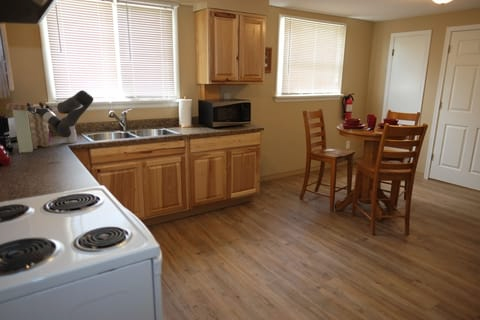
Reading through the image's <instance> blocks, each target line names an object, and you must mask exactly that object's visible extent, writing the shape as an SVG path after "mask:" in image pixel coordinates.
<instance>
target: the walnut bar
mask: <svg viewBox="0 0 480 320" xmlns="http://www.w3.org/2000/svg"><path fill="white" fill-rule="evenodd" d="M29 104H30V105H32V106H33V105H34V104H31V103H29ZM5 109H6V110H8V111H9V110H12V111H13V110H24V111H28V110H27V109H28V107H27V103H5ZM32 109H33V108H32Z"/></svg>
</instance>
